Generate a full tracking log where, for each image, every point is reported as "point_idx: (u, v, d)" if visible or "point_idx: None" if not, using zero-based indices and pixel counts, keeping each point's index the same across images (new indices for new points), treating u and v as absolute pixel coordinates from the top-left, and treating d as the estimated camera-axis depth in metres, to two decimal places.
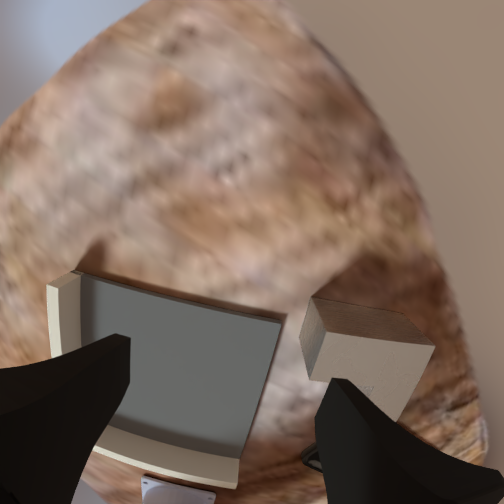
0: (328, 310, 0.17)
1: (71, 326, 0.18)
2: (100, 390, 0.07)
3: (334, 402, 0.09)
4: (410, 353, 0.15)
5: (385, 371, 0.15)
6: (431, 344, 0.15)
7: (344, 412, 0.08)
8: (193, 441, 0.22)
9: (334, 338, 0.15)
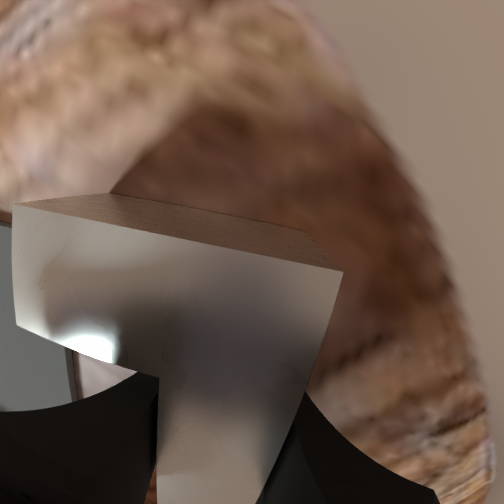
0: (100, 199, 0.08)
1: None
2: None
3: None
4: (246, 289, 0.05)
5: (176, 338, 0.06)
6: (329, 267, 0.05)
7: None
8: None
9: (26, 220, 0.05)
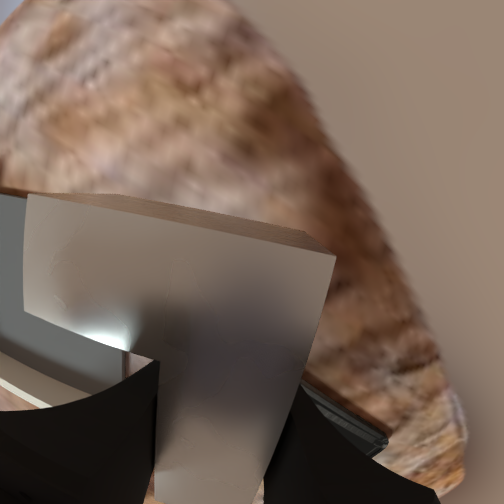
0: (109, 196, 0.09)
1: None
2: None
3: None
4: (244, 272, 0.06)
5: (178, 320, 0.06)
6: (323, 252, 0.06)
7: None
8: (75, 376, 0.19)
9: (39, 208, 0.06)
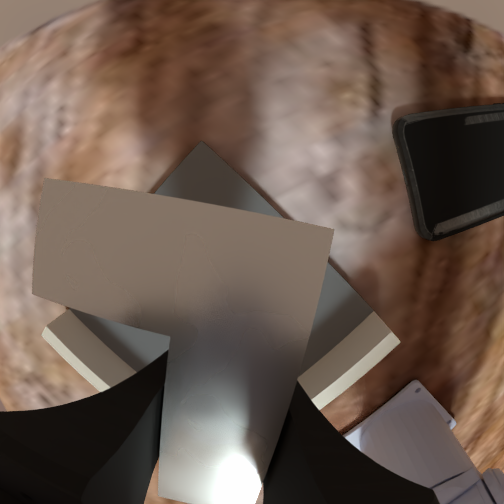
0: None
1: (97, 353, 0.17)
2: None
3: None
4: (252, 244, 0.06)
5: (189, 293, 0.06)
6: (322, 227, 0.06)
7: None
8: (311, 343, 0.18)
9: (56, 191, 0.06)
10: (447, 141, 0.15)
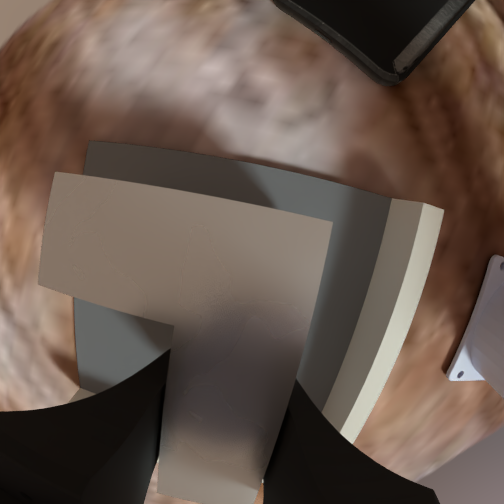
0: None
1: None
2: None
3: None
4: (255, 235, 0.07)
5: (194, 283, 0.07)
6: (321, 220, 0.07)
7: None
8: (343, 282, 0.13)
9: (66, 184, 0.07)
10: None
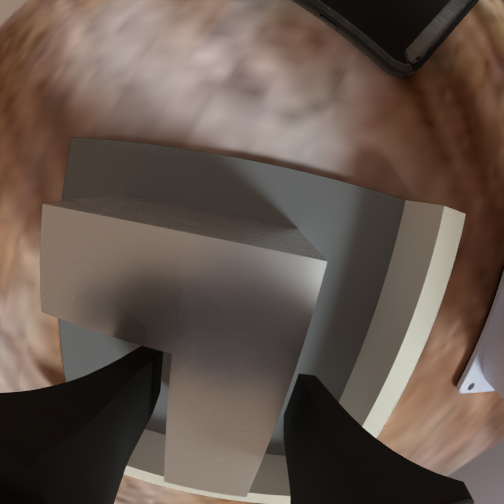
0: (116, 200, 0.09)
1: None
2: (137, 403, 0.08)
3: (299, 399, 0.09)
4: (246, 275, 0.07)
5: (188, 318, 0.07)
6: (316, 257, 0.07)
7: (306, 409, 0.08)
8: (351, 293, 0.12)
9: (55, 218, 0.06)
10: None
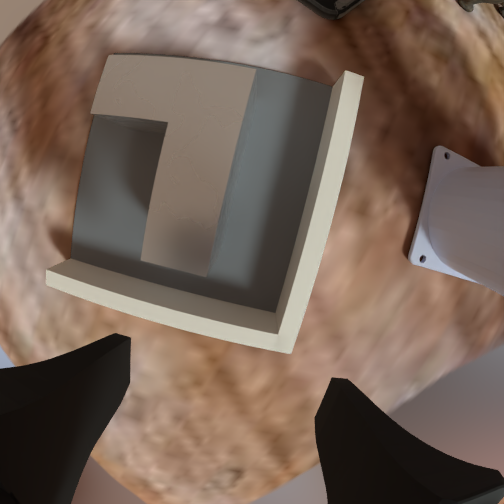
0: None
1: (104, 277, 0.17)
2: (100, 390, 0.07)
3: (334, 402, 0.09)
4: (214, 75, 0.11)
5: (181, 99, 0.11)
6: None
7: (344, 412, 0.08)
8: (296, 144, 0.16)
9: (115, 60, 0.11)
10: None
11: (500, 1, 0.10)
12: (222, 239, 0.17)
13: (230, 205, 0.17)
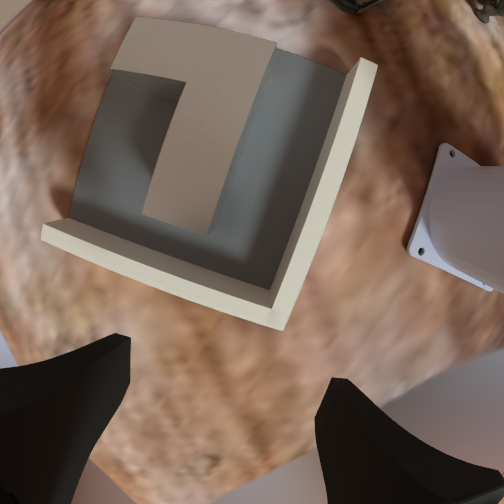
0: None
1: (100, 237, 0.17)
2: (100, 390, 0.07)
3: (334, 402, 0.09)
4: (236, 44, 0.11)
5: (201, 62, 0.11)
6: None
7: (344, 412, 0.08)
8: (306, 124, 0.16)
9: (141, 22, 0.11)
10: None
11: None
12: (224, 208, 0.17)
13: (235, 175, 0.17)
